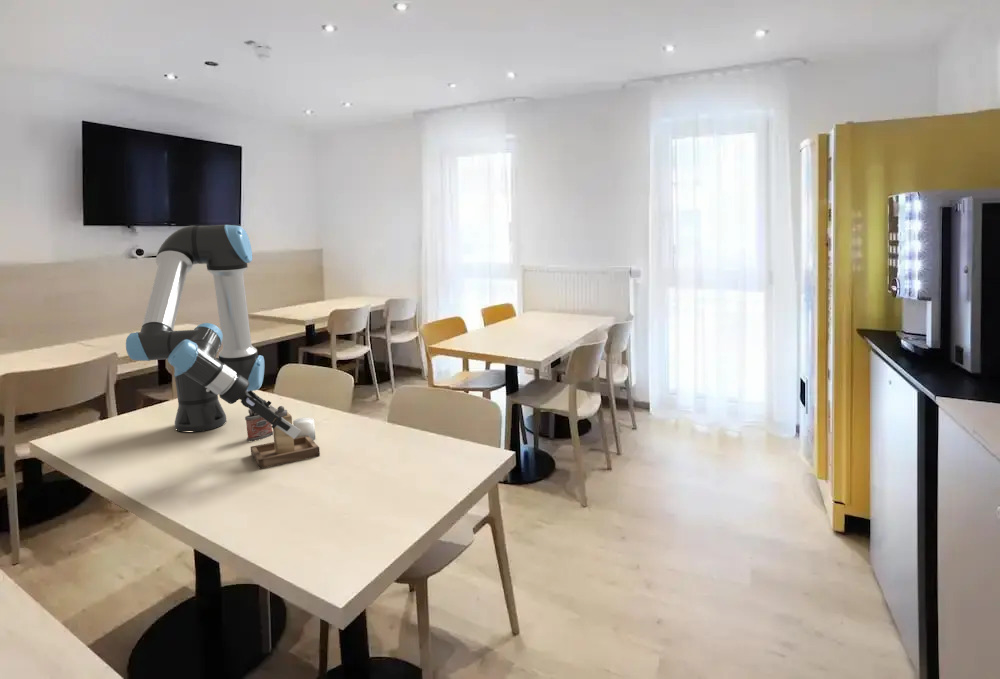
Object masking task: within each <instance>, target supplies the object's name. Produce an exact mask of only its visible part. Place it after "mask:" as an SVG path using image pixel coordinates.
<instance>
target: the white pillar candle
mask: <svg viewBox="0 0 1000 679" xmlns="http://www.w3.org/2000/svg"><path fill="white" fill-rule="evenodd" d="M292 425H294V426H295V427H296V428H298V429H299V430H301V432H300V433H299V434H298V435H297V437H302V436H307V435H308V436H309V437H310V438H311V439H312V440H313V441H315V440H316V429H315V419H314V418H313V417H300V418H297V419H294V420H292ZM297 437H296V438H297Z"/></svg>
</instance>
